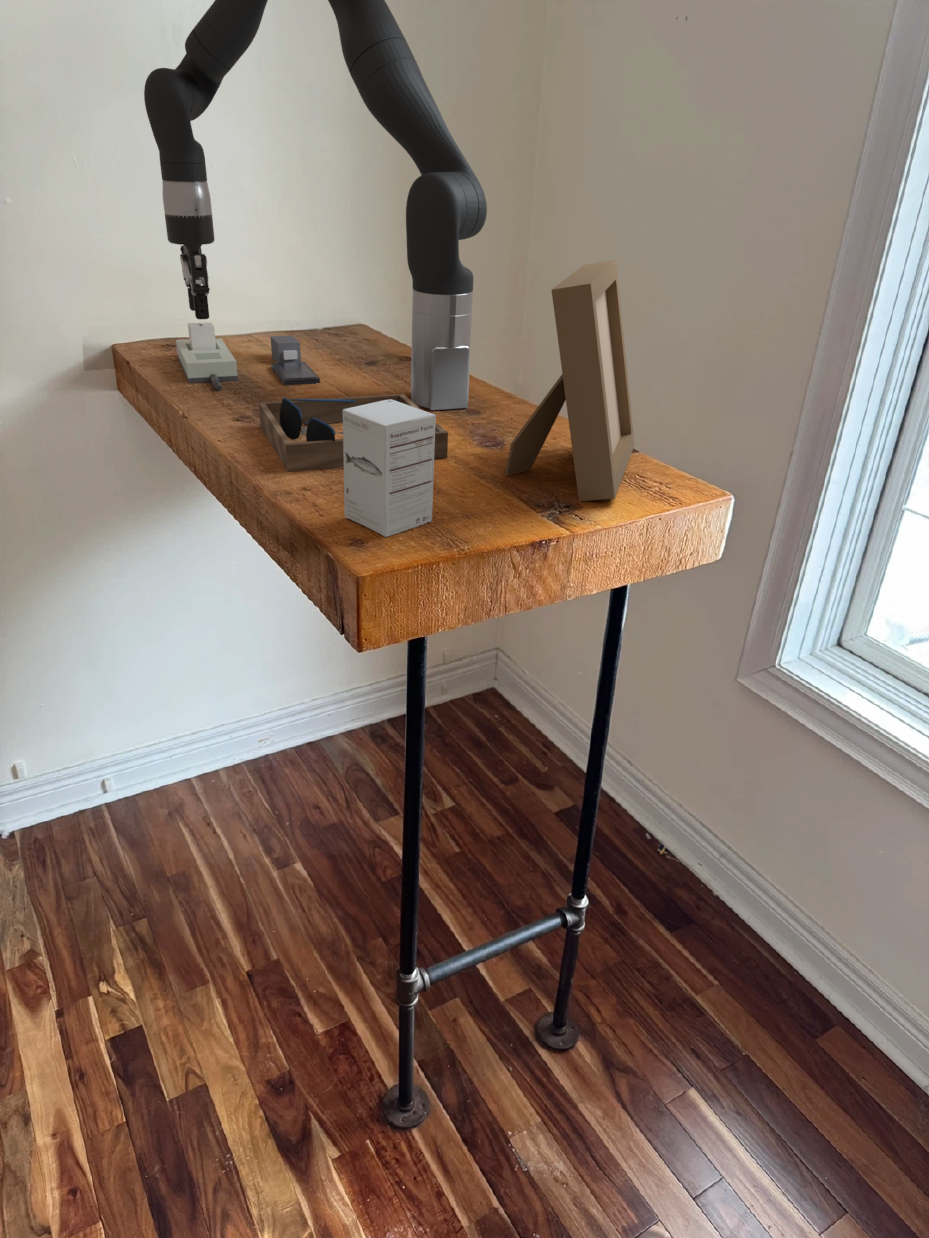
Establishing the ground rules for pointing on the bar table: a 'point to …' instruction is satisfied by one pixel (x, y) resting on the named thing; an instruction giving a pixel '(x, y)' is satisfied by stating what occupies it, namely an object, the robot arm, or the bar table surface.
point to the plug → (285, 349)
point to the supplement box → (388, 466)
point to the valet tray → (325, 451)
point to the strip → (207, 363)
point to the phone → (295, 373)
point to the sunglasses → (315, 428)
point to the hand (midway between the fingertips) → (199, 314)
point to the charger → (201, 336)
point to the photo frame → (586, 385)
